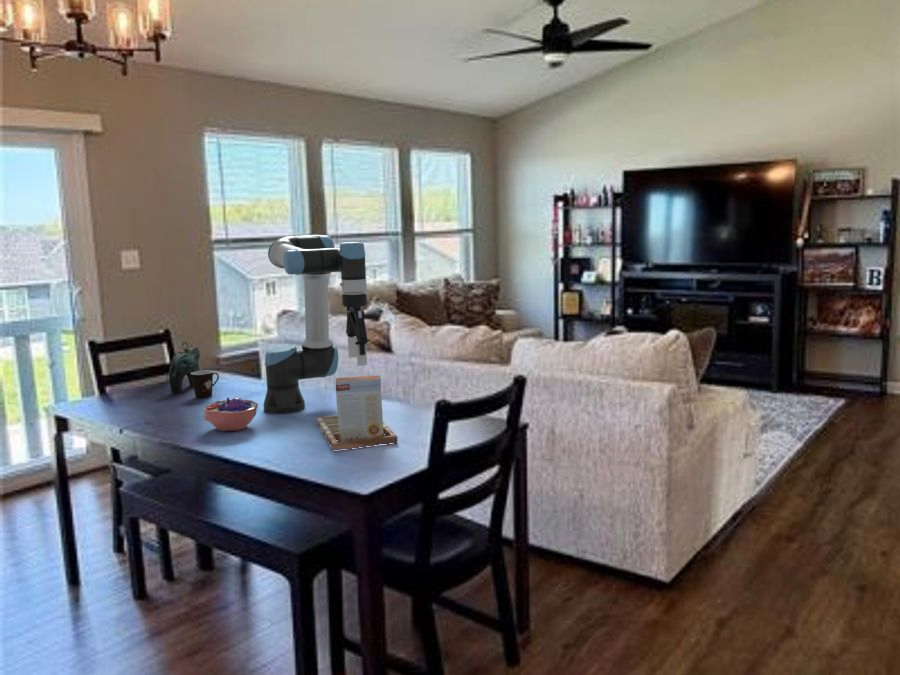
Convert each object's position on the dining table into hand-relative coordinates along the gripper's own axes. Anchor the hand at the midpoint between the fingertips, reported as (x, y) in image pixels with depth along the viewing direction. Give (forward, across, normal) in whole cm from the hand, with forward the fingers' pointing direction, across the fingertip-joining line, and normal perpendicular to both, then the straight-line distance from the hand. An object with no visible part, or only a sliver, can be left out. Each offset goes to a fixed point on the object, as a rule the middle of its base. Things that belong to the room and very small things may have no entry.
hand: (357, 361), depth 229 cm
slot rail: (+26, -10, 0) cm, 28 cm away
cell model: (+27, -34, -38) cm, 57 cm away
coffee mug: (+27, -89, -45) cm, 103 cm away
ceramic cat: (+27, -107, -53) cm, 122 cm away
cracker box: (+26, 0, 0) cm, 26 cm away
